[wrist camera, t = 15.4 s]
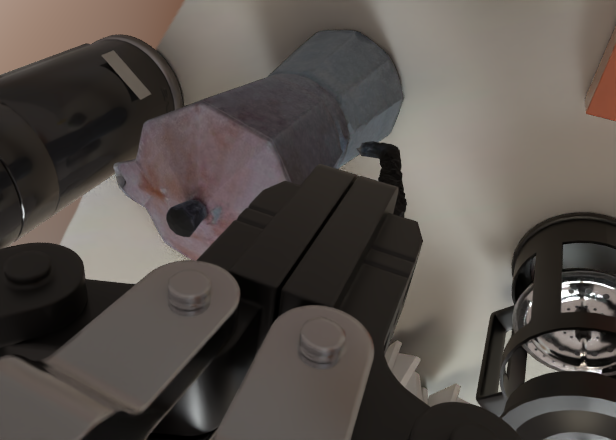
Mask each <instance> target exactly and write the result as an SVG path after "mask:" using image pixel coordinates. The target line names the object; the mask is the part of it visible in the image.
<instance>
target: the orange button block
mask: <svg viewBox="0 0 616 440" xmlns="http://www.w3.org/2000/svg"><path fill="white" fill-rule="evenodd" d="M585 108H586V114H589V115H593V116H597V117H601V118H605V119H609V120H613V121H616V26H615V29H614V31H613V33H612V36H611V38H610V40H609V43H608V45H607V47H606V50H605V52H604V54H603V57H602V59H601V62H600V64H599V66H598V69H597V71H596V73H595V76H594V78H593V80H592V83H591V85H590V87H589V90H588V92H587V95H586V97H585Z"/></svg>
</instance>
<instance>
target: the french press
mask: <svg viewBox="0 0 616 440" xmlns="http://www.w3.org/2000/svg"><path fill="white" fill-rule="evenodd" d="M571 243H594V244H599V245H604V246H608V247H611V248H614V249H616V219H615V218H612V217H609V216H606V215H600V214H594V213H572V214H565V215H560V216H557V217H554V218H551V219H548V220H546V221H544V222H542V223H540V224H538V225H537V226H535V227H534V228H533V229H531V230H530V231H529V232H528V233H527V234H526V235H525V236H524V237H523V238H522V240H521V241H520V242H519V244H518V246H517V248H516V250H515V252H514V256H513V260H512V276H513V283H512V299H513V302H514V305H513V306H510V307H507V308H504V309H501V310H498V311H495V312H493V313H492V314H491V316H490V321H489V326H488V332H487V338H486V343H485V349H484V354H483V360H482V366H481V371H480V377H479V382H478V388H477V394H476V400H477V402H478V403H479V404H480V406H481V407H482V408H484V409H486V410H488V411H490V412H492V413H494V414H495V415H497V416H498V417H500V418H502V419H503V420H504V421H505V422H506V423H508V424H509V425H510V426H511V427H512V428H513V429H514V430H515V431H516V432H517V433H518V434H519V435H520V437H521V438H522V439H523V440H616V275H614V274H611V273H608V272H605V271H600V270H595V269H585V268H569V269H563V244H571ZM535 256H536V264H535V275H534V282H533V281H532V278H531V274H530V266H531V262H532V259H533V258H534V257H535ZM509 330H512V335H511V338H510V340H509V341H508V343H507V345H506V347H505V349H504V343H505V336H506V332H507V331H509ZM503 350H504V352H503ZM527 352H528V353H529V354H530V355H531V356H532V357H533V358H535V359H536V360H537V361H539V362H541V363H542V364H544V365H546V366H547V367H549V368H552V369H554V370H557V371H559V372H554V373H548V374H544V375H541V376H538V377H535V378H532V379H530V380H529V381H527V382H525V371H526V360H527ZM507 362H508V367H507V374H506V371H505V365H506V363H507ZM499 379H500V387H501V390H502V392H498V386H499ZM524 382H525V383H524Z"/></svg>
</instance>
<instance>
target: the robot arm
mask: <svg viewBox="0 0 616 440" xmlns="http://www.w3.org/2000/svg"><path fill="white" fill-rule="evenodd" d="M182 107H183V103H182V95H181V90H180V87H179V84H178V82H177V79H176V77H175V75H174V73H173V71H172V69H171V68H170V66H169V65H168V63H167V62H166V61H165V59H164V58H163V57H162V56H161V55H160V54H159V53H158V52H157V51H156V50H155V49H154V48H152V47H151V46H150V45H148V44H147V43H145V42H143V41H142V40H140V39H137V38H135V37H132V36H128V35H111V36H108V37H105V38H103V39H100V40H98V41H96V42H94V43H92V44H83V45H81V46H78V47H75V48H72V49H70V50H67V51H64V52H62V53H59V54H56V55H53V56H51V57H48V58H45V59H43V60H40V61H37V62H34V63H32V64H29V65H26V66H24V67H21V68H18V69H15V70H13V71H10V72H7V73H4V74H2V75H0V440H523V439H522V438H521V437H520V435H519V434H518V433H517V432H516V431H515V430H514V429H513V428H512V427H511V426H510V425H509V424H508V423H506V422H505V421H504V420H503V419H502V418H500V417H498V416H497V415H495V414H494V413H492V412H490V411H488V410H486V409H484V408H482V407H479V406H476V405H473V404H468V403H463V402H444V403H440V404H436V405H433V406H432V407H430V406H429V405H427V404H426V403H425V402H423V401H422V400H420V399H419V398H418V397H416V396H415V395H413V394H412V393H411V392H410V391H408V390H407V389H406V388H405V387H404V386H403V385H402V384H401V383H400V382H399V381H398V380H397V379H396V377H395V376H394V374H393V373H392V372H391V370H390V368H389V366H388V364H387V361H386V358H385V354H386V351H387V348H388V346H389V343H390V340H391V338H392V335H393V333H394V330H395V327H396V325H397V322H398V319H399V317H400V314H401V311H402V309H403V306H404V303H405V300H406V296H407V293H408V289H409V286H410V283H411V279H412V276H413V273H414V269H415V266H416V263H417V259H418V256H419V253H420V249H421V246H422V243H423V240H422V236H421V233H420V229H419V226H418V222H416V221H413V220H410V219H407V218H403V217H400V216H397V215H394V214H393V212H394V208H395V204H396V200H397V195H398V187H396V186H393V185H389V184H386V183H383V182H379V181H376V180H373V179H369V178H366V177H363V176H359V177H358V175H356V174H352V173H349V172H346V171H342V170H339V169H336V168H332V167H329V166H326V165H322V164H319V165H317V166H316V167H315V169H314V170H313V171H312V172H311V173H310V175H309V176H308V177H307V178H306V179H305V180H304V182H303V183H302V184H301V185H298V184H294V183H291V182H288V181H283V182H281V183H278V184H276V185H274V186H271V187H269V188H266V189H264V190H262V192H261V193H260V194H259V195H258V196H257V197H256V198H255V199H254V200H253V201H252V202H251V203H250V204H249V207H248V208H247V207H246V208H245V210H244V211H243V212H242V213H241V214H240V215H239V216H238V218H237V220H234V221H233V222H232V223H231V224H230V225H229V226H228V227H227V229H226V230H225V231H224V232H223V233H222V234H221V235H220V236H219V237H218V238H217V239H216V240H215V241H214V242H213V243H212V244H211V245H210V247H209V248H208V249H207V250H206V251H205V252H204V253H203V254H202V255H201V256H200V257H199V258H198V259H197V260H196V261H194V260H185V261H177V262H173V263H168V264H166V265H163V266H160V267H158V268H157V269H155V270H153V271H152V272H150V273H149V274H148V275H146V276H145V277H144V278H143V279H142V280H140V281H139V282H138V283H137V284H125V283H116V282H107V281H98V280H89V279H85V272H84V265H83V261H82V260H81V258H80V257H79V256H78V255H77V254H76V253H75V252H74V251H72V250H71V249H69V248H67V247H64V246H61V245H57V244H52V243H28V244H21V245H16V246H11V247H8V246H9V245H11V244H12V243H13V242H15V241H16V240H18V239H19V238H21V237H22V236H24V235H25V234H26V233H28V232H30V231H31V230H33V229H34V228H35V227H37V226H39V225H40V224H42V223H43V222H44V221H46V220H47V219H49V218H50V217H51V216H53V215H54V214H56V213H57V212H59V211H60V210H62V209H63V208H65V207H66V206H68V205H69V204H71V203H72V202H74V201H75V200H77V199H78V198H80V197H81V196H83V195H84V194H86V193H87V192H89V191H90V190H92V189H93V188H95V187H96V186H98V185H99V184H101V183H102V182H103V181H105V180H106V179H108V178H109V177H111V176H112V175H114V174H115V170H114V168H113V166H114V164H115V163H117V162H124V161H129V160H133V159H136V156H137V153H138V148H139V143H140V137H141V133H142V128H143V124H144V123H145V122H146V121H147V120H150V119H153V118H155V117H158V116H161V115H163V114H166V113H169V112H171V111H174V110H177V109H179V108H182Z"/></svg>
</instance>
